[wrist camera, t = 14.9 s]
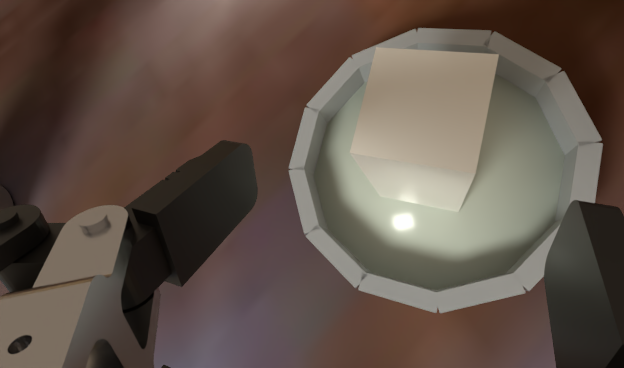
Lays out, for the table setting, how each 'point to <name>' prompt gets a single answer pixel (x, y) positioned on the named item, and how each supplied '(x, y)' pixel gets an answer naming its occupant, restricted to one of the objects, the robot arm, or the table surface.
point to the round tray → (479, 199)
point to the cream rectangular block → (424, 124)
